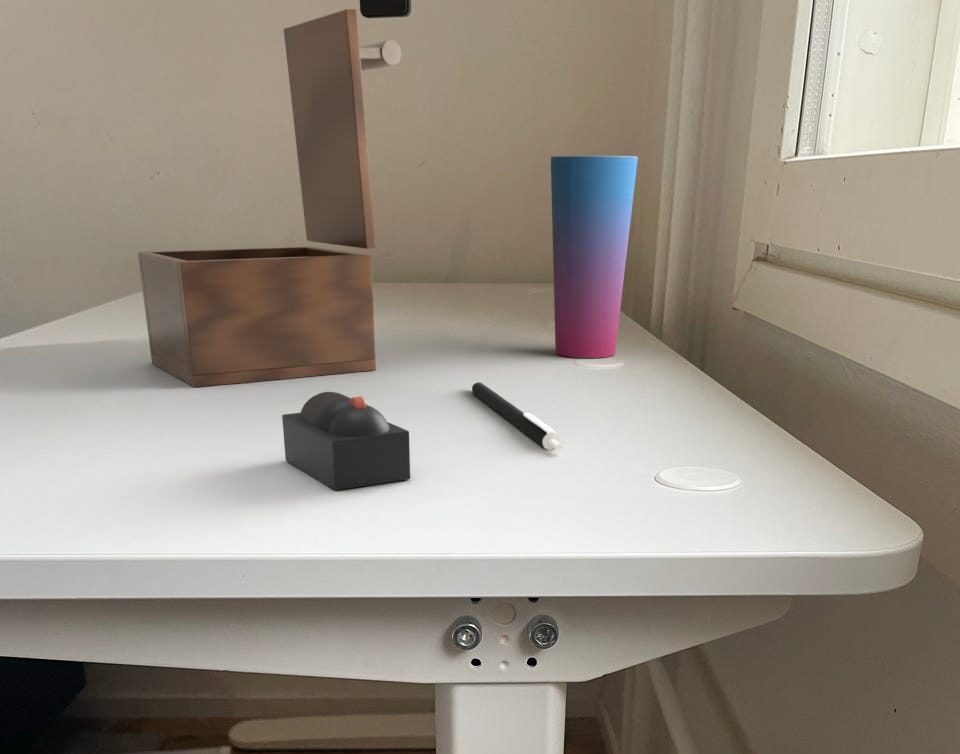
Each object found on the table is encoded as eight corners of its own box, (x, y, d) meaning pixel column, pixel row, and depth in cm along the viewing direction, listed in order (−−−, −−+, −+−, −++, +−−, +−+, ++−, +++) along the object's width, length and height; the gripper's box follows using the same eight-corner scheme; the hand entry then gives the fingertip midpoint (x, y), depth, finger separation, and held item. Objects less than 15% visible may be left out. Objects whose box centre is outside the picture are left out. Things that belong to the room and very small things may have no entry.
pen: (550, 456, 55) (551, 435, 54) (466, 391, 71) (465, 374, 71) (566, 455, 55) (566, 434, 54) (478, 390, 72) (478, 374, 71)
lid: (345, 9, 68) (417, 10, 70) (283, 28, 77) (348, 29, 79) (366, 248, 74) (431, 242, 77) (306, 240, 84) (366, 235, 86)
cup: (571, 344, 90) (578, 157, 84) (640, 352, 87) (653, 157, 80) (529, 354, 85) (534, 156, 79) (600, 362, 82) (611, 155, 75)
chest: (194, 387, 72) (180, 262, 68) (151, 363, 81) (137, 251, 77) (376, 370, 78) (371, 255, 75) (317, 350, 87) (311, 246, 84)
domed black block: (285, 460, 53) (279, 383, 52) (355, 450, 55) (351, 376, 54) (335, 491, 48) (330, 407, 47) (410, 479, 50) (408, 398, 48)
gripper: (334, -305, 61) (350, 27, 68) (193, -467, 46) (233, -17, 53) (455, -319, 59) (459, 22, 66) (352, -491, 44) (370, -24, 51)
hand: (359, 5), depth 60 cm, fingers open, 9 cm apart
